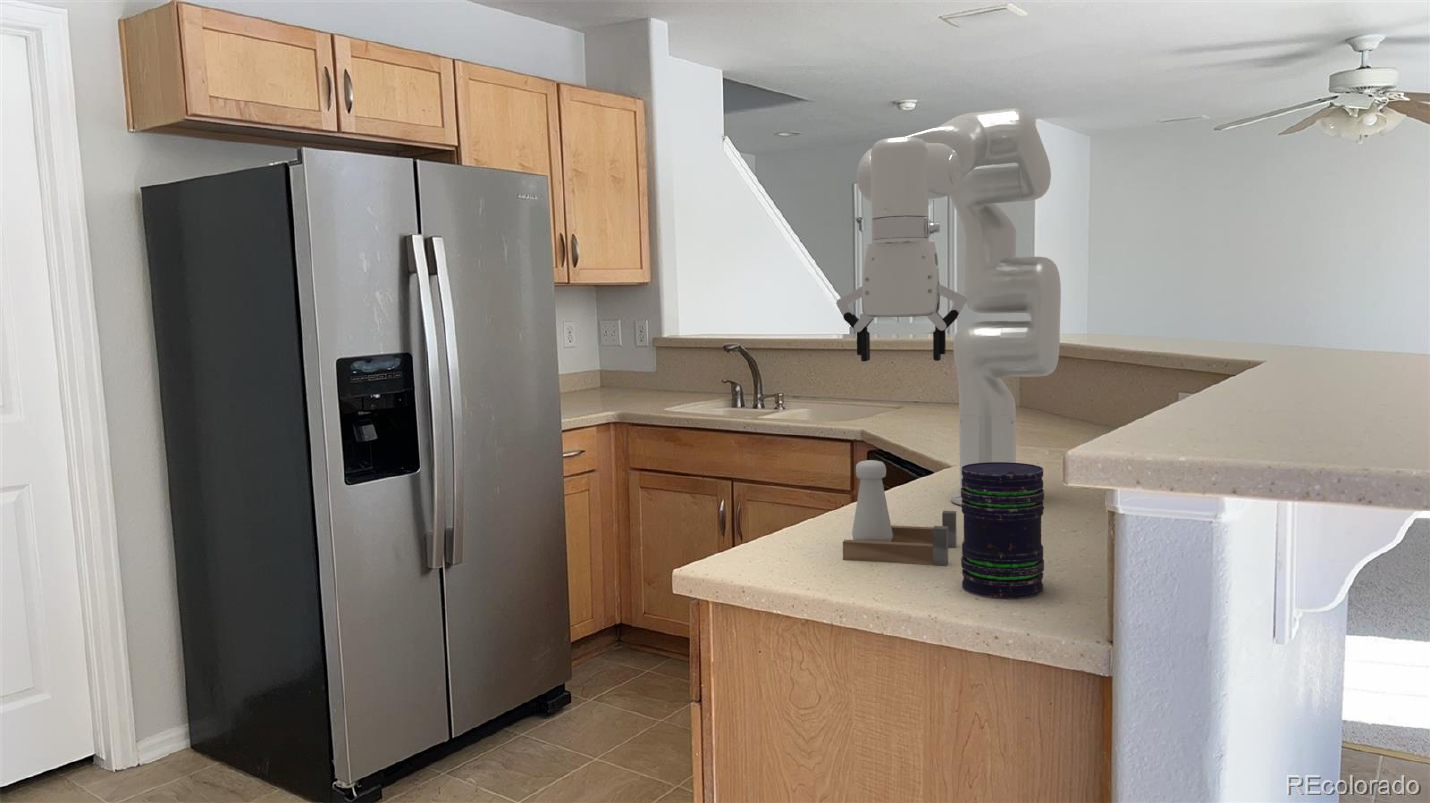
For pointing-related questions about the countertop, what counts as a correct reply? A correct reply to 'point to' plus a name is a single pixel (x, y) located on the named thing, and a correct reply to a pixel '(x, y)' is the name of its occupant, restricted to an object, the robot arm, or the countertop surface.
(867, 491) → the salt shaker
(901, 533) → the chute
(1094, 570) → the countertop surface
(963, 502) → the dark blue cylinder
